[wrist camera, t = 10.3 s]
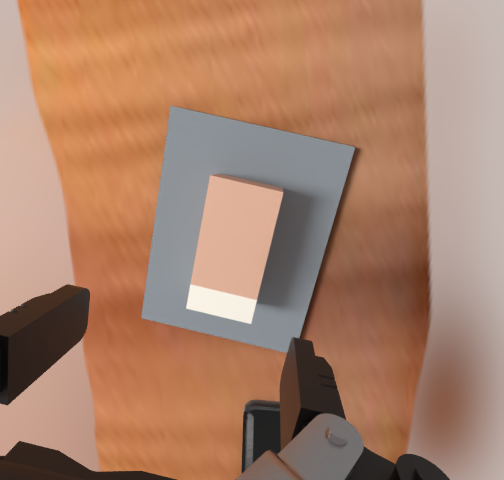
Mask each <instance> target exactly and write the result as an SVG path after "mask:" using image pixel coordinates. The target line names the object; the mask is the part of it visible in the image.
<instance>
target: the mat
mask: <svg viewBox="0 0 504 480" xmlns="http://www.w3.org/2000/svg"><path fill="white" fill-rule="evenodd" d="M354 150H355V147H353V146H348V145H344V144H340V143H335V142H331V141H326V140H322V139H317V138H313V137H308V136H304V135H299V134H295V133H290V132H286V131H282V130H277V129H273V128H268V127H264V126H259V125H255V124H250V123H246V122H241V121H237V120H232V119H228V118H224V117H219V116H215V115H210V114H206V113H201V112H197V111H192V110H188V109H183V108H179V107H175V106H171V107H170V114H169V122H168V129H167V136H166V143H165V151H164V158H163V165H162V172H161V180H160V187H159V194H158V201H157V208H156V216H155V223H154V230H153V237H152V245H151V252H150V259H149V266H148V274H147V281H146V288H145V295H144V303H143V310H142V317H141V318H143V319H148V320H152V321H156V322H160V323H164V324H168V325H173V326H177V327H181V328H185V329H189V330H193V331H198V332H202V333H206V334H210V335H214V336H218V337H223V338H227V339H231V340H235V341H239V342H243V343H247V344H252V345H256V346H260V347H264V348H268V349H272V350H277V351H281V352H285V353H287V352H288V349H289V345H290V341H291V339H292V337H296V338H299V337H300V334H301V330H302V327H303V323H304V320H305V317H306V313H307V310H308V306H309V303H310V300H311V296H312V293H313V289H314V286H315V283H316V279H317V276H318V272H319V269H320V266H321V262H322V259H323V255H324V252H325V249H326V245H327V242H328V238H329V235H330V232H331V228H332V225H333V221H334V218H335V215H336V211H337V208H338V204H339V201H340V198H341V194H342V191H343V187H344V184H345V181H346V177H347V174H348V170H349V167H350V163H351V160H352V157H353V153H354ZM219 173H220V174H224V175H229V176H233V177H237V178H242V179H246V180H251V181H255V182H259V183H264V184H268V185H272V186H277V187H281V188H283V196H282V200H281V204H280V209H279V213H278V217H277V221H276V225H275V229H274V233H273V237H272V241H271V245H270V249H269V253H268V257H267V261H266V265H265V270H264V274H263V278H262V282H261V286H260V290H259V294H258V298H257V302H256V306H255V310H254V314H253V318H252V322H251V324H248V323H244V322H240V321H236V320H232V319H228V318H223V317H219V316H215V315H211V314H207V313H203V312H199V311H194V310H190V309H186V306H187V300H188V295H189V289H190V284H191V278H192V273H193V267H194V261H195V256H196V250H197V245H198V239H199V234H200V228H201V223H202V217H203V212H204V206H205V201H206V195H207V190H208V184H209V179H210V175H214V174H219Z"/></svg>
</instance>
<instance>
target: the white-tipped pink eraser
mask: <svg viewBox="0 0 504 480" xmlns="http://www.w3.org/2000/svg"><path fill="white" fill-rule="evenodd" d="M282 196H283V188H281V187H277V186H272V185H268V184H264V183H259V182H255V181H251V180H246V179H242V178H237V177H233V176H229V175H224V174H220V173H219V174H214V175H210V179H209V184H208V190H207V195H206V201H205V206H204V212H203V217H202V223H201V228H200V234H199V239H198V245H197V250H196V256H195V261H194V267H193V273H192V278H191V284H190V289H189V295H188V300H187V306H186V309H190V310H194V311H199V312H203V313H207V314H211V315H215V316H219V317H223V318H228V319H232V320H236V321H240V322H244V323H248V324H251V322H252V318H253V314H254V310H255V306H256V302H257V298H258V294H259V290H260V286H261V282H262V278H263V274H264V270H265V265H266V261H267V257H268V253H269V249H270V245H271V241H272V237H273V233H274V229H275V225H276V221H277V217H278V213H279V209H280V204H281V200H282Z"/></svg>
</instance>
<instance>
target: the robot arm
mask: <svg viewBox="0 0 504 480" xmlns="http://www.w3.org/2000/svg"><path fill="white" fill-rule="evenodd" d="M89 301H90V292H89V290H88V289H86V288H82V287H78V286H73V285H65V286H63V287H61V288H60V289H58V290H56V291H54V292H53V293H51V294H50V293H49V294H46V295H42V296H39V297H35V298H33V299H31V300H29V301H27V302H25V303H23V304H22V305H21V306H18V307H16V308H14V309H13V310H11V312H7V313H5V314H3V315H1V316H0V403H1V404H5V405H8V404H10V403H11V402H12V401H13V400H14V399H15V398H16V397H17V396H19V395H20V394H21V393H22V392H23V391H24V390H25V389H26V388H28V386H30V385H31V384H32V383H33V382H34V381H35V380H37V379H38V378H39V377H40V376H41V375H42V374H43V373H44V372H46V371H47V370H48V369H49V368H50V367H51V366H52V365H53V364H54V363H56V362H57V361H58V360H59V359H60V358H61V357H62V356H63V355H65V354H66V353H67V352H68V351H69V350H70V349H71V348H72V347H73V346H74V345H76V344H77V343H78V342H79V341H80V340H81V339H82V337H83V336H84V334H85V332H86V329H87V324H88V312H89ZM334 379H335V378H334V374H333V371H332V368H331V366H330V365H329V364H328V363H327V361H326V360H325V359H324V358H322V357H318V356H315V353H314V348H313V343H312V341H309V340H305V339H300V338H296V337H292V339H291V341H290V345H289V349H288V352H287V356H286V360H285V363H284V367H283V371H282V375H281V381H280V433H281V452H280V453H278V454H276V453H275V452H274V451H273V450H268V451H266V452H265V453H264V454H263V455H261V456H260V457H259V458H258V459H257V460H256V461H255V462H254V463H253V464H252V465H251V466H250V467H249V468H247V469H246V470H245V471H244V472H243V473H242V474H241V475H240V476H239V477H238V478H237V479H236V480H450V479H449V478H448V477H447V476H446V475H445V474H444V473H443V472H442V471H441V470H440V469H439V468H438V467H437V466H436V465H434V464H433V463H431V462H430V461H428V460H426V459H424V458H422V457H420V456H417V455H413V454H404V455H401V456H400V457H399V458H398V460H397V462H396V464H394V463H392V462H390V461H389V460H387V459H385V458H383V457H381V456H379V455H377V454H375V453H373V452H372V451H370V450H368V449H367V448H366V447H364V445H363V440H362V438H361V436H360V434H359V432H358V431H357V430H356V428H355V427H354V426H353V425H352V424H350V423H349V422H348V421H346V418H345V414H344V410H343V407H342V403H341V400H340V396H339V392H338V390H337V385H336V382H335V380H334ZM0 480H176V479H172V478H168V477H164V476H160V475H156V474H151V473H147V472H143V471H114V472H95V471H91V470H89V469H88V468H86V467H84V466H83V465H81V464H79V463H78V462H76V461H74V460H73V459H71V458H70V457H68V456H66V455H65V454H63V453H61V452H60V451H58V450H54V449H49V448H45V447H41V446H37V445H33V444H29V443H25V442H21V441H19V442H18V443H17V444H16V445H15V446H14V447H13V448H12V449H11V450H10V451H9V453H8V454H7V455H6V456H0Z"/></svg>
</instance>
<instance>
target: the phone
mask: <svg viewBox="0 0 504 480" xmlns="http://www.w3.org/2000/svg"><path fill="white" fill-rule="evenodd" d="M268 450H273V451H274V452H275V453H276V454H278V453H280V452H281V433H280V402H276V401H265V400H251V401H249V402H248V403H247V404H246V405H245V408H244V415H243V446H242V473H243V472H244V471H245V470H246V469H247V468H249V467H250V466H251V465H252V464H253V463H254V462H255V461H256V460H257V459H258V458H259V457H260V456H261V455H263V454H264V453H265V452H266V451H268Z"/></svg>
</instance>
